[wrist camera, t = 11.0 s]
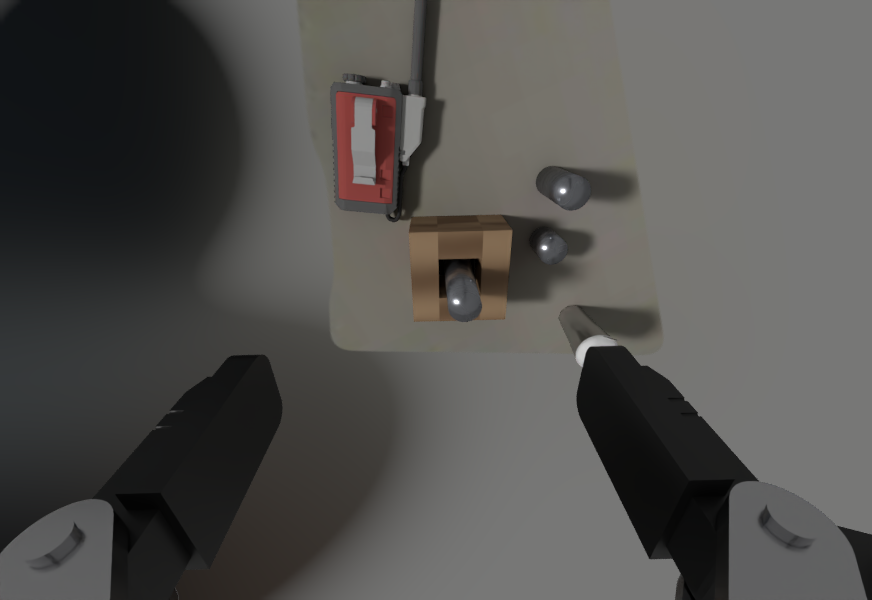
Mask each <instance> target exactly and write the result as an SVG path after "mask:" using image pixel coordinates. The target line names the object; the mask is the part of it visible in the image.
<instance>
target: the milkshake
mask: <svg viewBox="0 0 872 600" xmlns="http://www.w3.org/2000/svg"><path fill="white" fill-rule="evenodd" d="M558 319H559V321H560V324H561V326H562V328H563V330H564V332H565V335H566V337H567V339H568V341H569V343H570V346H571V348H572V351H573V353H574V356H575V358H576V361H577V363H578V364H579V365H580V366H581V367H583V363H584V359H585V354H586V351H587V349H588V348H589V347H591V346H618V345H617V343H616V341H618V340H616V339H613V338H612V337H611V336H609V335H608V334H607V333H606V332H605V331H604V330H603V329H602V328H601V327H600V326H599V325H598V324H597V323H596V322H595V321H594V320H593V319H592V318H591V317H590V316H589V315H588V314H587V313H586V312H585V311H584V310H583V309H582V308H580V307H578V306H576V305H574V306H567V307H566V308H565V309H563V310H562V311H561V312H560V315H559V317H558ZM615 340H616V341H615Z"/></svg>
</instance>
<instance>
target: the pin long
mask: <svg viewBox="0 0 872 600" xmlns="http://www.w3.org/2000/svg"><path fill="white" fill-rule="evenodd" d="M443 260H444V271H445V282H446V292H447V303H448V311H449V314H450V315H451V317H452V318H454V319H455V320H457V321H460V322H468V321H471V320H474V319H475V318H477V317H478V316H479V314H480V313H481V310H482V302H481V299H480V295H479V291H478V288H477V284H476V281H475V277H474V273H473V270H472V266H471V263H470V259H443Z"/></svg>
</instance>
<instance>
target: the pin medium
mask: <svg viewBox="0 0 872 600" xmlns="http://www.w3.org/2000/svg"><path fill="white" fill-rule="evenodd" d="M536 187H537V189H538V191H539V192H540V193H541V194H543V195H544V196H546V197H547V198H549V199H550V200H552V201H553V202H555V203H556V204H558V205H559V206H560V207H562V208H563V209H566V210H576V209H579V208H581V207H582V206H583V205H585V204H586V202H587V201H588V199H589V197H590V194H591V186H590V184H589V182H588V180H587V179H585V178H584V177H581V176H579V175H576V174H574V173H571V172H569V171H566V170H563V169H561V168H558V167H556V166H549V167H546V168H544V169H543V170H542V171H541V172H540V173H539V174H538V176H537V179H536Z"/></svg>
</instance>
